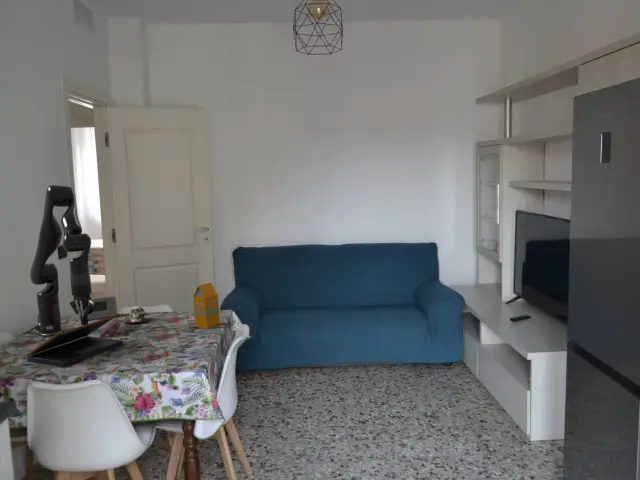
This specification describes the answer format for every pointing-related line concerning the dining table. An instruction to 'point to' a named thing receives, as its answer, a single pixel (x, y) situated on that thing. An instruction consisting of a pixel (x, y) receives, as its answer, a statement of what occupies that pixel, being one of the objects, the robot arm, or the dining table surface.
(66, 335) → the tablet cover
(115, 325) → the video game controller
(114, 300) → the digital clock
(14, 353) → the dining table surface
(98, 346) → the black flat slab
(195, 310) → the orange juice
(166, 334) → the dining table surface
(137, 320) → the skull
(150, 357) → the dining table surface
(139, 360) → the dining table surface
